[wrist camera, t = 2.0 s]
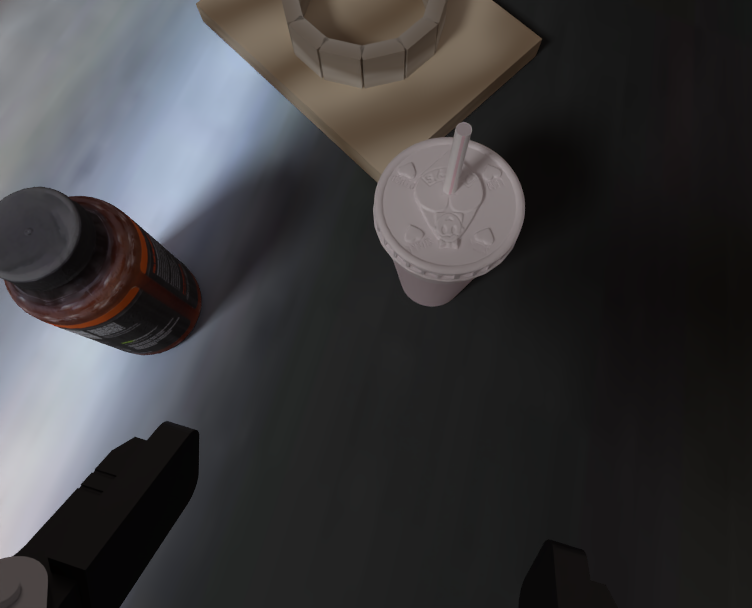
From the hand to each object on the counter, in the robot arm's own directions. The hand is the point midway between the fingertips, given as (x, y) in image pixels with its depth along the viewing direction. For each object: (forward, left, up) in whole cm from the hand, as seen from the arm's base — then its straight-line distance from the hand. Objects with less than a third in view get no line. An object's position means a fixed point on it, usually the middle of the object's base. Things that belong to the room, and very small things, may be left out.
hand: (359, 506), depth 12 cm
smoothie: (-6, +10, -17) cm, 21 cm away
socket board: (-21, +19, -17) cm, 33 cm away
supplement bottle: (-16, -3, -17) cm, 24 cm away
